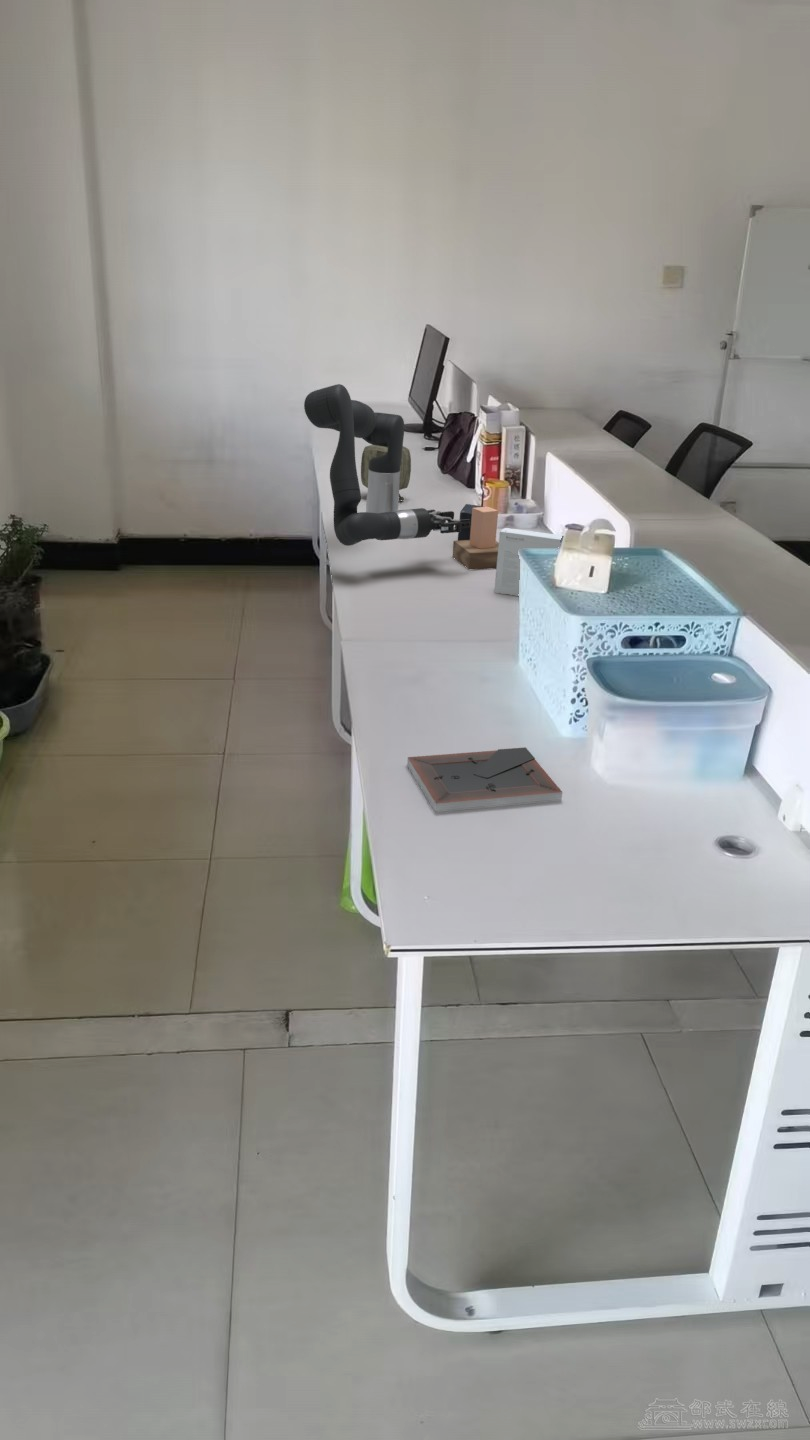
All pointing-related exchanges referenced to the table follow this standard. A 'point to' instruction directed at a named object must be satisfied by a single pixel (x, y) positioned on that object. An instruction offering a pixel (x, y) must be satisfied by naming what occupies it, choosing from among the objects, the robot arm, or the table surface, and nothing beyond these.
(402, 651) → the table surface
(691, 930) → the table surface
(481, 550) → the walnut block
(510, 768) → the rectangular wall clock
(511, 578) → the skincare box
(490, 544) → the terracotta pillar
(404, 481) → the tabletop clock
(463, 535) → the small box
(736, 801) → the table surface
